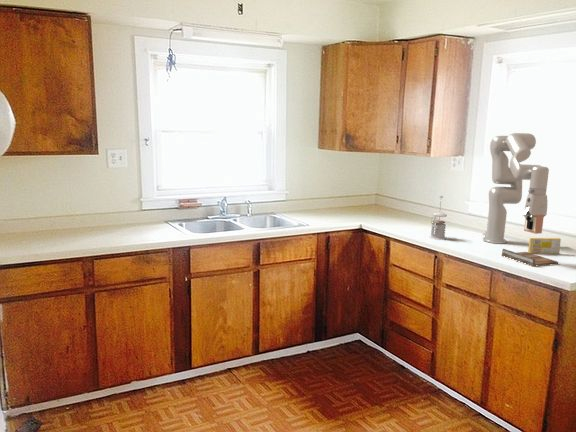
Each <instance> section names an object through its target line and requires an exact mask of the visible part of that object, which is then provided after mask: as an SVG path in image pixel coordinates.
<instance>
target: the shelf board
mask: <svg viewBox="0 0 576 432" xmlns="http://www.w3.org/2000/svg"><path fill="white" fill-rule="evenodd" d="M515 253H518V254H521V255H524V256H527V257H531V258H534V259H535V264H532V263H529V262H526V261H523V260H520V259H517V258H514V257H511V256H508V255H505V254H502V253H501V257H504V256H505V257H504V258H506V257H508V258H507V259H509V258H511V259H510V260H512V259H514V260H513V261H515V260H517V261H516V262H518V261H520V262H519V263H521V262H523V263H522V264H524V263H526V264H525V265H527V264H529V265H528V266H530V265H532V266H531V267H537V266H536V265H544V266H551V265H550V264H556V265H559V261H557V260H553V259H550V258H548V257H544V256H542V255H537V254H532V253H528V251H519V252H518V251H516V252H515Z"/></svg>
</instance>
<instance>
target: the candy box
mask: <svg viewBox="0 0 576 432" xmlns="http://www.w3.org/2000/svg"><path fill="white" fill-rule="evenodd" d="M561 242H562V239H561V238H557V237H556V238H555V237H529V238H528V251H527V252H528V253H534V254H535V255H537V254H540V255H543V254H544V255H545V254H546V255H560V252H561V251H560V249H561Z"/></svg>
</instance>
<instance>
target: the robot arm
mask: <svg viewBox="0 0 576 432" xmlns="http://www.w3.org/2000/svg"><path fill="white" fill-rule="evenodd" d="M536 144H537V140H536V137H535V135H534V134H533V133H528V132H527V133H525V132H523V133H522V132H513V133H510V134H509V135H497V136H494V137H492V139H491V141H490V144H489V150H490V155H491V159H492V160H491V161H492V164H491V179H492V182H493V183H494V184H496V185H508V186H494V187H491V188H490V189H489V190H488V202H489V203H488V215H487V225H486V231H484V232H482V235H483V236H484V237H483V238H482V240H483V242H487V243H491V244H501V245H502V244H506V243H507V239H505V232H506V223H507V222H506V221H507V214H508V212H507V209H506V206H505V205H506V204H508V205H509V204H510V205H512V204H513V205H514V204H515V205H517V204H519V203H520V202H521V200H522V197H523V181H525V180H527V181H530V182H529V189H528V194H527V197H526V202H525V204H524V211H523V214H522V216H523V217H524V218H525V219H526V220H527V227H526V228H527V229H530V230H532V228H533V222H532V221H533V217H534V216H536V215H544V217H546V216H547V213H548V195H547V189H548V183H549V182H548V181H549V171H550V170H549V167H547V166H542V165H539V164H521V163H522V162H525V161H527V160H528V159H529V158H530V157H531V154H532V152H531V150H532V149H534V148H535V147H536ZM505 152H510V153H511V155H512V156H511V158H510V159H509V157H508V156H507V154H506V153H505ZM509 160H510V161H509ZM509 185H510V186H509ZM530 214H531V215H530ZM530 216H531V218H530Z"/></svg>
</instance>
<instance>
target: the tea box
mask: <svg viewBox="0 0 576 432" xmlns="http://www.w3.org/2000/svg"><path fill="white" fill-rule="evenodd" d="M530 215H531V214H530ZM530 218H531V216H530ZM544 218H545V216H544V215H536V216H534V217H533V221H532V222H533V228H532V230H530V229H527V228H526V227H527V220H526V218H525V220H524V229H523V231H524V232H527V233H531V234H535V235H536V234H543V224H544Z"/></svg>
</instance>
